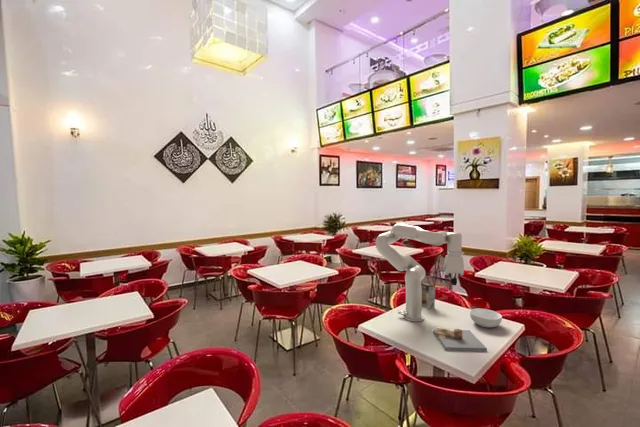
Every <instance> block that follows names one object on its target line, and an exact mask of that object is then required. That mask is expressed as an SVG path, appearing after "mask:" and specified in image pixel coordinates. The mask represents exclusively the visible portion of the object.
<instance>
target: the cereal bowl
mask: <svg viewBox="0 0 640 427" xmlns="http://www.w3.org/2000/svg"><path fill="white" fill-rule="evenodd" d="M469 316H470V319H471V320H472V322H474V323H475V324H477V325H478V326H479V327H483V328H488V329H489V328H494V327H495V328H496V327H498V326H500V325H501V323H502V322H503V316H502V314H500V313H499V312H498V311H497V312H496V311H495V310H491V309H487V308H479V307H478V308H477V307H476V308H472V309H470V311H469Z"/></svg>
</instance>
